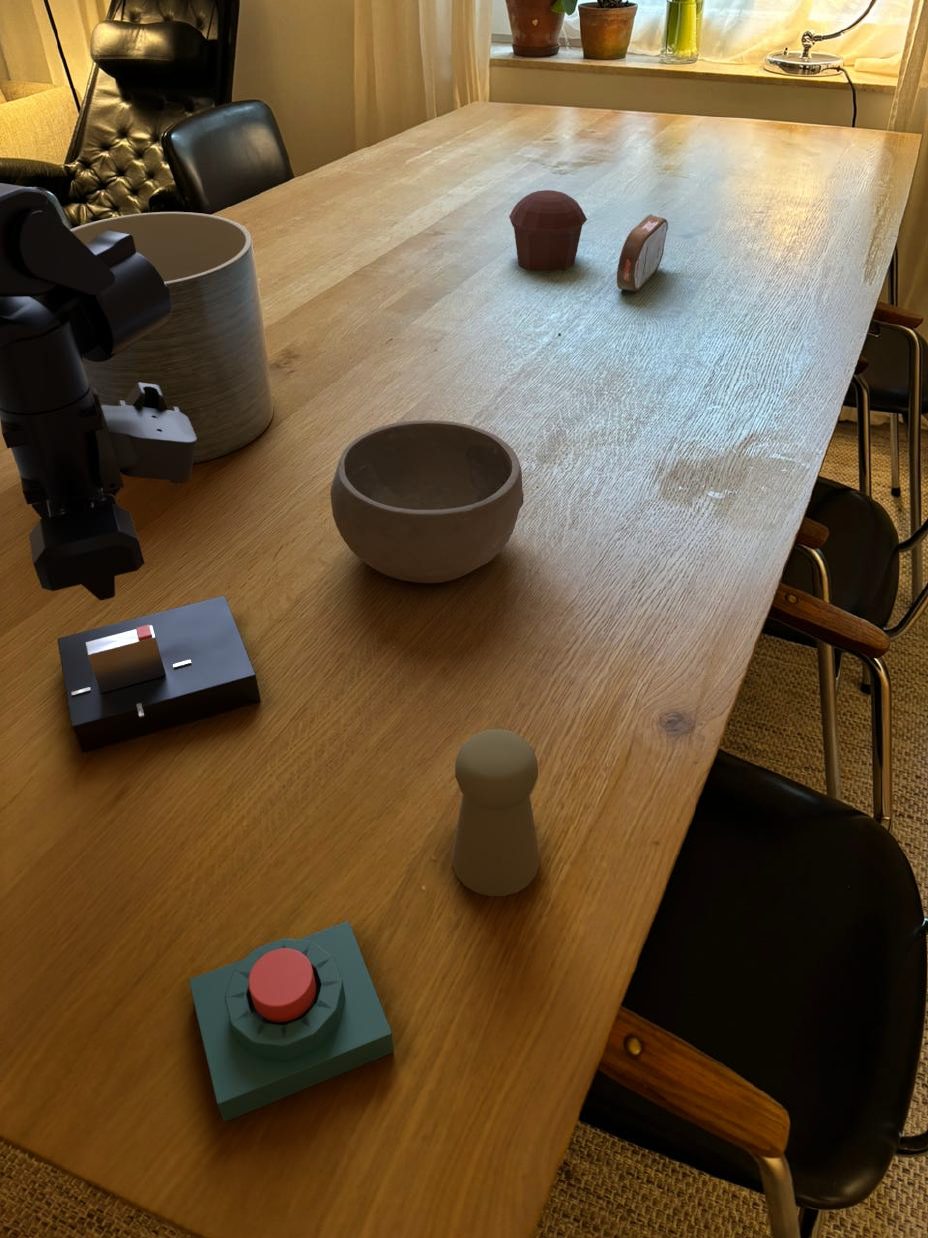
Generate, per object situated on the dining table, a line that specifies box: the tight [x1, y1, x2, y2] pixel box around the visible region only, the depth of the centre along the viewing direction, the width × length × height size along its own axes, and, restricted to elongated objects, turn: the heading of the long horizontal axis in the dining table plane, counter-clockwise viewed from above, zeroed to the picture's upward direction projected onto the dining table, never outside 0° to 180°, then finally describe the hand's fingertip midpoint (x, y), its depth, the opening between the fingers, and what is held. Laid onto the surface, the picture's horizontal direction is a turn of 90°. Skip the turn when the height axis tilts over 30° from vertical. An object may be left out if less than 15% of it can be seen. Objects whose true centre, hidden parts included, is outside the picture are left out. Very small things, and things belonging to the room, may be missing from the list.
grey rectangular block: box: [86, 625, 166, 693], centre depth 76 cm, size 5×2×4 cm, turn 113°
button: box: [248, 948, 316, 1022], centre depth 56 cm, size 4×4×2 cm
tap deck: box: [56, 595, 262, 754], centre depth 80 cm, size 14×12×3 cm
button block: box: [188, 920, 395, 1123], centre depth 58 cm, size 10×8×4 cm
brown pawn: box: [451, 728, 541, 897], centre depth 64 cm, size 6×6×11 cm
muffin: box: [508, 189, 588, 273], centre depth 149 cm, size 12×11×10 cm
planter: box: [69, 211, 274, 464], centre depth 109 cm, size 22×22×20 cm
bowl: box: [330, 419, 525, 584], centre depth 92 cm, size 17×18×10 cm
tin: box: [616, 214, 669, 292], centre depth 143 cm, size 15×3×8 cm, turn 153°
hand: (105, 588), depth 72 cm, fingers closed
